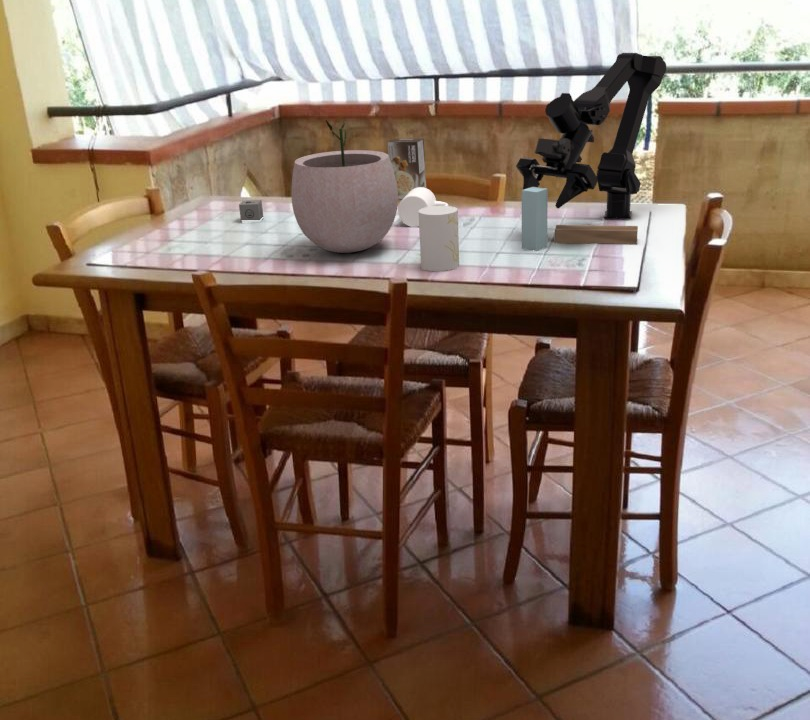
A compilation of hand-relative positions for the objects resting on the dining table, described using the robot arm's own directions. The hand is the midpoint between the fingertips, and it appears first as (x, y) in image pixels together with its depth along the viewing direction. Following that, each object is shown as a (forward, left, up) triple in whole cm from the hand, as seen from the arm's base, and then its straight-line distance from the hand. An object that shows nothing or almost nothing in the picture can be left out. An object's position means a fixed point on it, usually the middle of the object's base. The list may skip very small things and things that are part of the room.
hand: (539, 204), depth 193 cm
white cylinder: (+17, -19, -10) cm, 27 cm away
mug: (-20, -31, -10) cm, 38 cm away
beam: (-5, +12, -9) cm, 16 cm away
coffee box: (-48, -43, -10) cm, 65 cm away
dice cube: (-19, -78, -10) cm, 81 cm away
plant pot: (+6, -43, -10) cm, 44 cm away
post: (+2, -1, -9) cm, 9 cm away
